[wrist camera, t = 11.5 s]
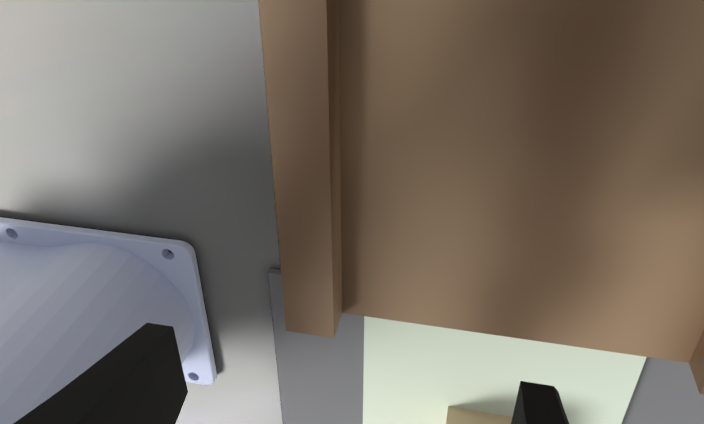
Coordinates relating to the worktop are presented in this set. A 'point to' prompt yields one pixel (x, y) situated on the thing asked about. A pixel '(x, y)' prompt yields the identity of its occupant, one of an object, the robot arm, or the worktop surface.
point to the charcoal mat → (348, 366)
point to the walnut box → (492, 168)
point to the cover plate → (484, 376)
